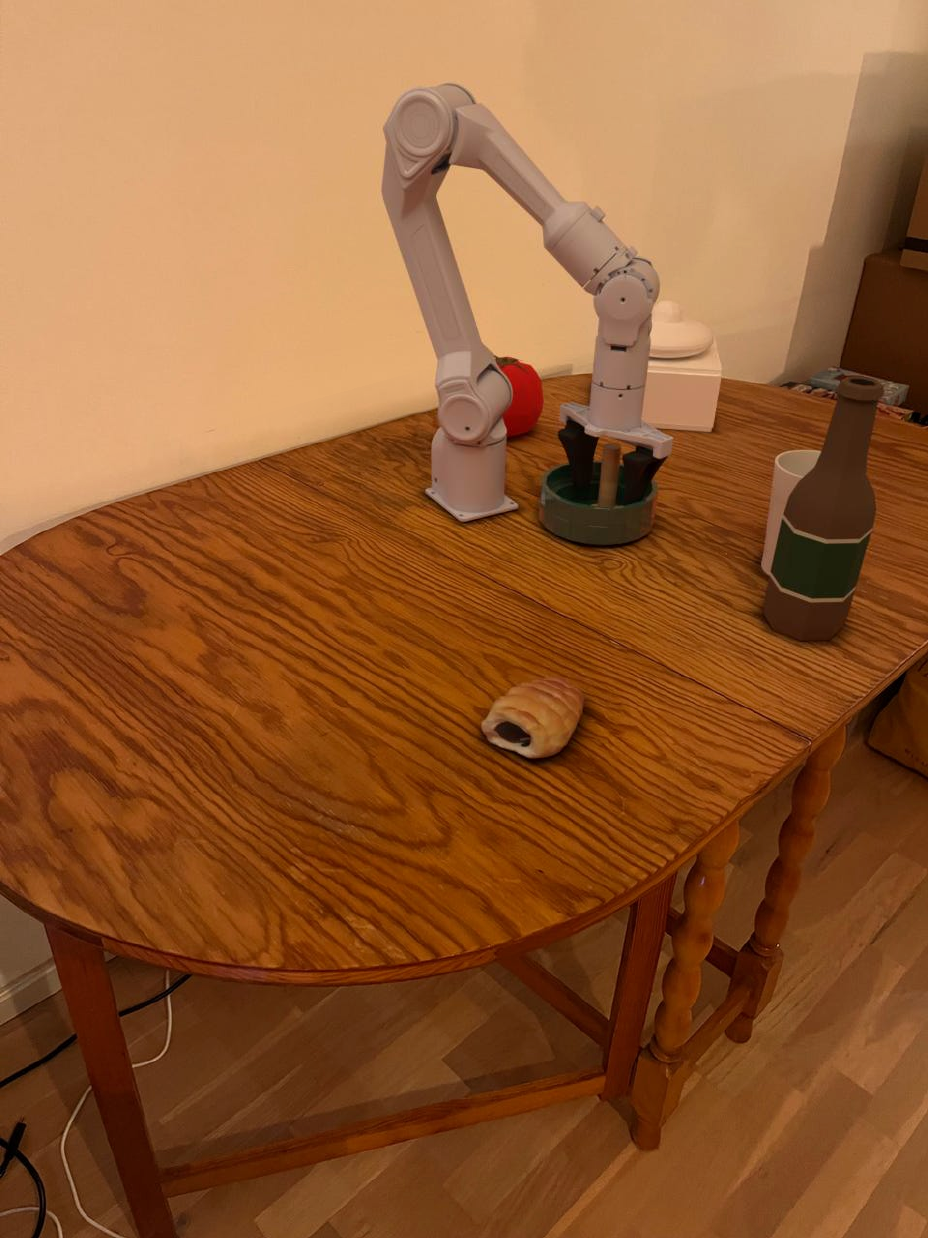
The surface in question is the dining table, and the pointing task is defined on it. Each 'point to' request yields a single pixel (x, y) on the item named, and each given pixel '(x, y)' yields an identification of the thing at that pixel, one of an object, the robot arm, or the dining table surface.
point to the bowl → (593, 509)
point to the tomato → (521, 395)
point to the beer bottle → (827, 524)
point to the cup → (784, 494)
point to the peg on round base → (609, 475)
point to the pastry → (535, 717)
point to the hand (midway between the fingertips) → (606, 497)
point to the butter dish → (681, 372)
